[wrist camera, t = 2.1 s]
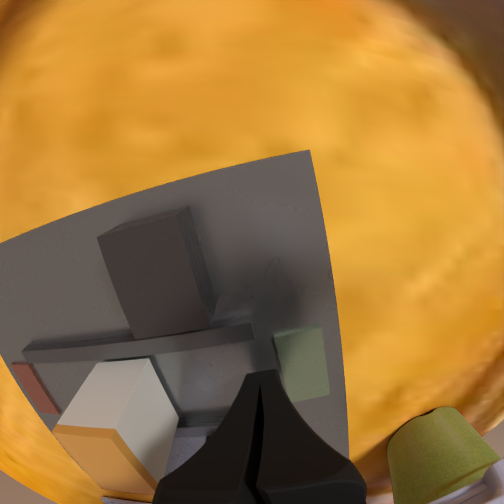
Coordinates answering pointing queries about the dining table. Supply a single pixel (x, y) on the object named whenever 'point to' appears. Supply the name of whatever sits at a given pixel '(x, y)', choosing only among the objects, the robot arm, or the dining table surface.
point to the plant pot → (436, 457)
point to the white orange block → (120, 426)
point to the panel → (244, 272)
